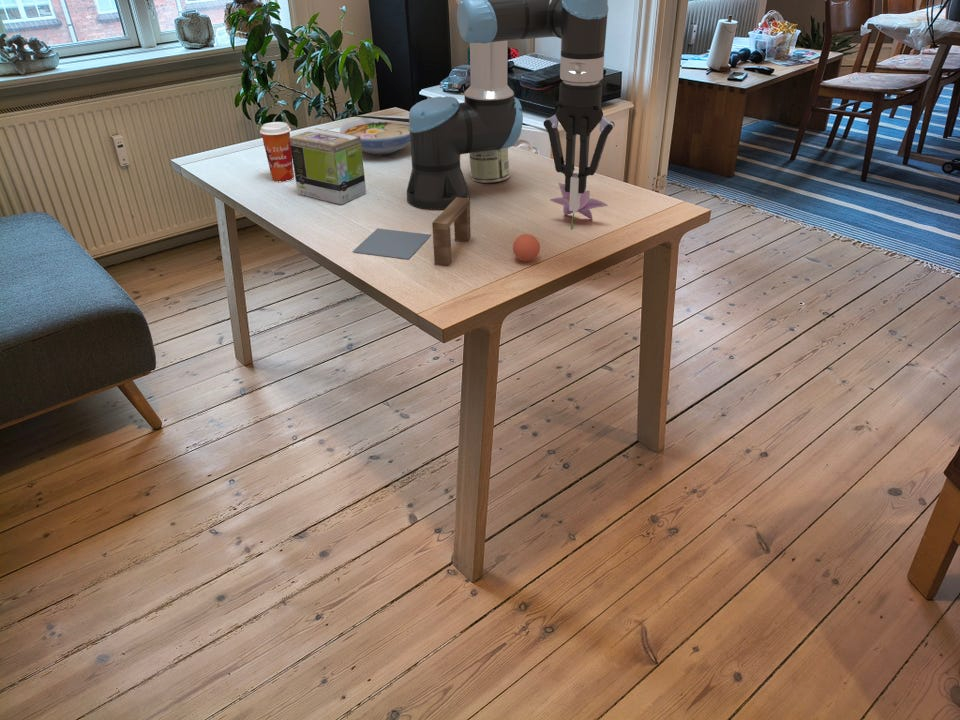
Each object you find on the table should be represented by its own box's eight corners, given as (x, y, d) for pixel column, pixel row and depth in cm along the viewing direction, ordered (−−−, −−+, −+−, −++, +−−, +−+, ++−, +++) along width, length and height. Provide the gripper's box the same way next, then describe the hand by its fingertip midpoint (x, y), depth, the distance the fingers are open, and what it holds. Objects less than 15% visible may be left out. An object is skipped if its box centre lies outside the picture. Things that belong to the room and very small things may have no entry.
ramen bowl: (323, 159, 213) (319, 130, 209) (364, 136, 231) (361, 109, 226) (401, 168, 205) (399, 138, 200) (437, 145, 222) (436, 117, 218)
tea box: (367, 193, 189) (361, 134, 181) (340, 206, 182) (333, 145, 174) (324, 183, 196) (316, 126, 188) (296, 194, 189) (287, 136, 181)
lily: (611, 232, 169) (614, 189, 168) (577, 226, 161) (581, 180, 160) (570, 234, 178) (573, 193, 177) (536, 228, 170) (539, 185, 169)
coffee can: (470, 174, 202) (466, 120, 195) (508, 170, 202) (505, 117, 195) (471, 184, 193) (466, 128, 186) (511, 181, 193) (508, 125, 186)
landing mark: (377, 229, 170) (377, 228, 170) (431, 235, 166) (431, 234, 166) (352, 252, 160) (352, 251, 159) (408, 259, 156) (408, 258, 156)
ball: (516, 253, 158) (517, 228, 155) (542, 256, 157) (543, 231, 154) (509, 264, 154) (509, 239, 151) (535, 267, 152) (536, 242, 149)
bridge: (434, 264, 154) (432, 222, 149) (457, 237, 165) (456, 197, 160) (448, 266, 153) (446, 224, 148) (470, 238, 165) (469, 198, 160)
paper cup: (265, 183, 196) (256, 130, 189) (271, 174, 203) (262, 121, 195) (295, 183, 197) (287, 129, 189) (300, 173, 203) (292, 120, 195)
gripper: (539, 83, 131) (536, 211, 144) (614, 88, 127) (604, 219, 140) (550, 74, 137) (546, 198, 150) (621, 78, 133) (611, 205, 146)
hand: (574, 208), depth 145 cm, fingers closed
